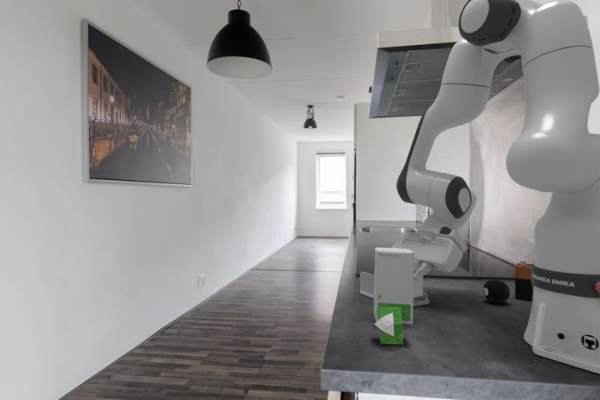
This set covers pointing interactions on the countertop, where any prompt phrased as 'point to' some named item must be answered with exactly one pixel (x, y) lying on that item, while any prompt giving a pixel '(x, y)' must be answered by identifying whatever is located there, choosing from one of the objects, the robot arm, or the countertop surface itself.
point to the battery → (523, 281)
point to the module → (418, 284)
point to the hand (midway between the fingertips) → (406, 276)
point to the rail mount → (368, 289)
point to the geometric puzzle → (390, 325)
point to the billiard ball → (496, 291)
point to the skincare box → (394, 281)
